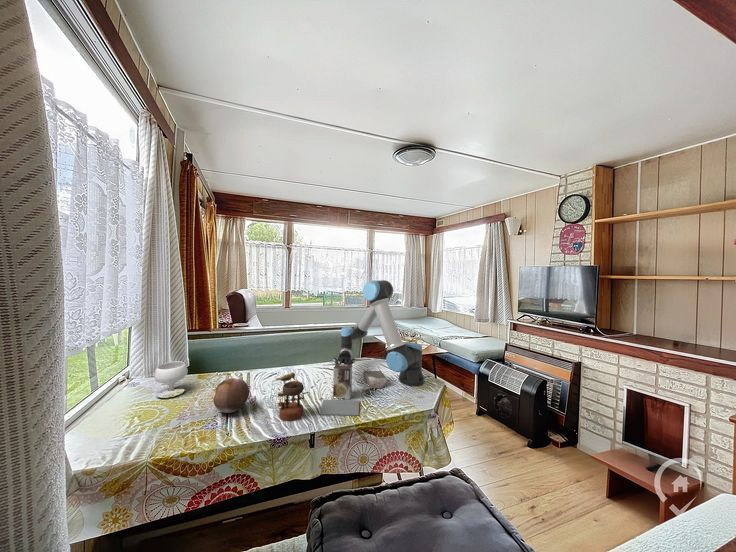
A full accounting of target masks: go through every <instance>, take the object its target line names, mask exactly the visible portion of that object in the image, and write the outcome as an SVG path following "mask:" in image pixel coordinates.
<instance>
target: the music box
mask: <svg viewBox="0 0 736 552" xmlns="http://www.w3.org/2000/svg"><path fill="white" fill-rule="evenodd" d="M292 379H293V380H292ZM275 380H276V382H277V381H280V384H282V382H284V383H283V386H282V390H280V391H279V392H280V393H277V397H279V402H278V407H279V410H278V411H279V412H278V413H279V415H278V416H279V419H280V420H281V421H284V422H294V421H298V420H299V419H301V418H302V417H303V416H304V405H303V404H301V403H300V401H301V400H302V399H303V400H305V396H304V395H305V394H310V392H309V391H306V392H304V389H305V387H304V386H305V385H304V384H303V382H301V381H297V380H296V374H295V372H290V373H288V374H287V373H286V374H285V375H282V376H281V377H277V378H276V379H275ZM290 380H292V381H290ZM300 394H302V397H301V396H300ZM295 396H296V397H297V398H296V397H295ZM282 397H286V398H284V402H282ZM289 397H291V399H290V398H289ZM296 400H297V401H296ZM290 401H291V402H290Z"/></svg>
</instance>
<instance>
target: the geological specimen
mask: <svg viewBox="0 0 736 552" xmlns="http://www.w3.org/2000/svg"><path fill="white" fill-rule="evenodd" d="M364 380H365V381H366V382H365V381H364ZM363 381H364V382H365V384H366V385H367V384H368V385H369V386H368V385H367V386H368V388H369V387H370V388H377V389H376V390H378V389H382V388H385V387H387V382H388V377H387V376H386V375H385V373H383V372H382V370H364V371H363ZM370 388H369V389H370Z"/></svg>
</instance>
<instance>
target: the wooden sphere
mask: <svg viewBox="0 0 736 552" xmlns="http://www.w3.org/2000/svg"><path fill="white" fill-rule="evenodd" d="M249 396H250V389H249V386H248V383H247V382H246V381H245V380H243V379H242V378H240V377H229V378H226V379H224V380H222V381H221V382H220V383H218V384H217V386H216V388H215V389H214V391H213V395H212V401H213V405H214V407H215V408H216V409H217V410H218V411H219V412H221V413H225V414H230V413H235V412H237V411H239V410H241V409H242V408H243V407H244V406H245V405H246V404H247V402H248V400H249Z"/></svg>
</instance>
